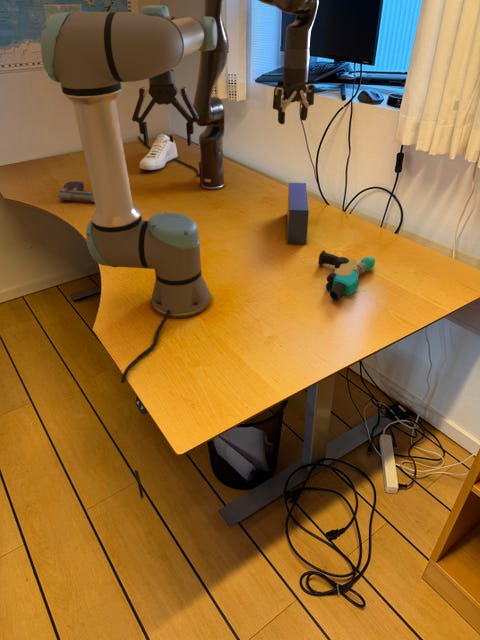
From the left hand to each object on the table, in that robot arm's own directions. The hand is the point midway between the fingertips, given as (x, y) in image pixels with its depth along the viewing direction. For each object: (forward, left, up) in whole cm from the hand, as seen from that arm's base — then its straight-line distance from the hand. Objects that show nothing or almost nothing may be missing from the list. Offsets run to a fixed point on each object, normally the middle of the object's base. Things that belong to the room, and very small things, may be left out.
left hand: (168, 144), depth 150 cm
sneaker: (+63, +20, -27) cm, 71 cm away
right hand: (+10, -39, +5) cm, 40 cm away
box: (-2, -42, -27) cm, 50 cm away
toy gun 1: (+23, +40, -27) cm, 54 cm away
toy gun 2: (-35, -53, -27) cm, 69 cm away
